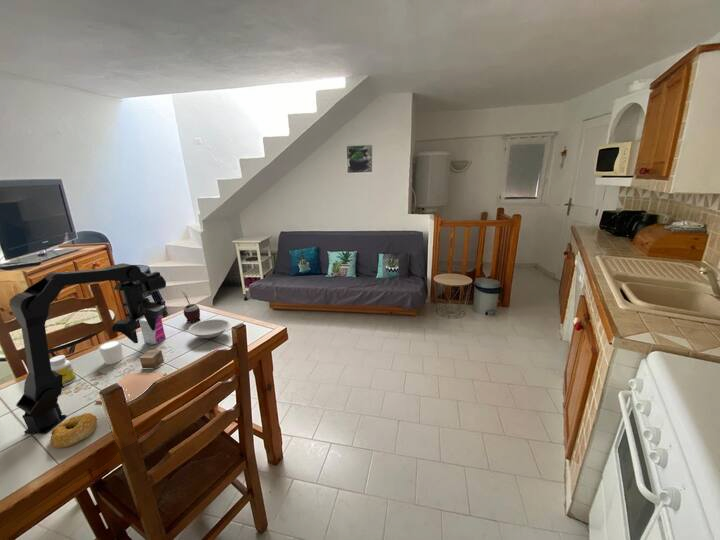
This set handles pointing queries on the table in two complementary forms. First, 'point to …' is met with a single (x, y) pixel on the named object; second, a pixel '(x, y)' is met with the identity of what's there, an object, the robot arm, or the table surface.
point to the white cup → (111, 351)
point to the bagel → (73, 430)
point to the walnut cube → (151, 359)
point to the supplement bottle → (63, 368)
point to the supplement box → (152, 331)
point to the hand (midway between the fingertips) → (145, 336)
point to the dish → (209, 328)
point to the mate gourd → (191, 311)
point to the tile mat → (136, 383)
